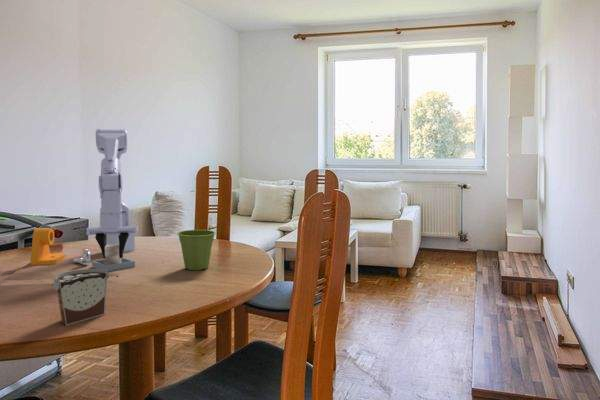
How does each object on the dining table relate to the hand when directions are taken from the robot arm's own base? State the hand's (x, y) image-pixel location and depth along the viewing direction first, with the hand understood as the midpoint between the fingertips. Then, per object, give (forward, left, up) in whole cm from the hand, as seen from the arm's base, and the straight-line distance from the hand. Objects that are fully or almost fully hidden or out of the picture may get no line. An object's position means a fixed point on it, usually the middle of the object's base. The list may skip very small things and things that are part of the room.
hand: (113, 257), depth 160 cm
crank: (+5, -11, -3) cm, 12 cm away
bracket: (+11, -23, -4) cm, 26 cm away
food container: (+26, +37, -4) cm, 45 cm away
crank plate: (+2, -11, -4) cm, 12 cm away
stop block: (0, 0, -2) cm, 2 cm away
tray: (0, 0, -4) cm, 4 cm away
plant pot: (-20, +15, -4) cm, 25 cm away
